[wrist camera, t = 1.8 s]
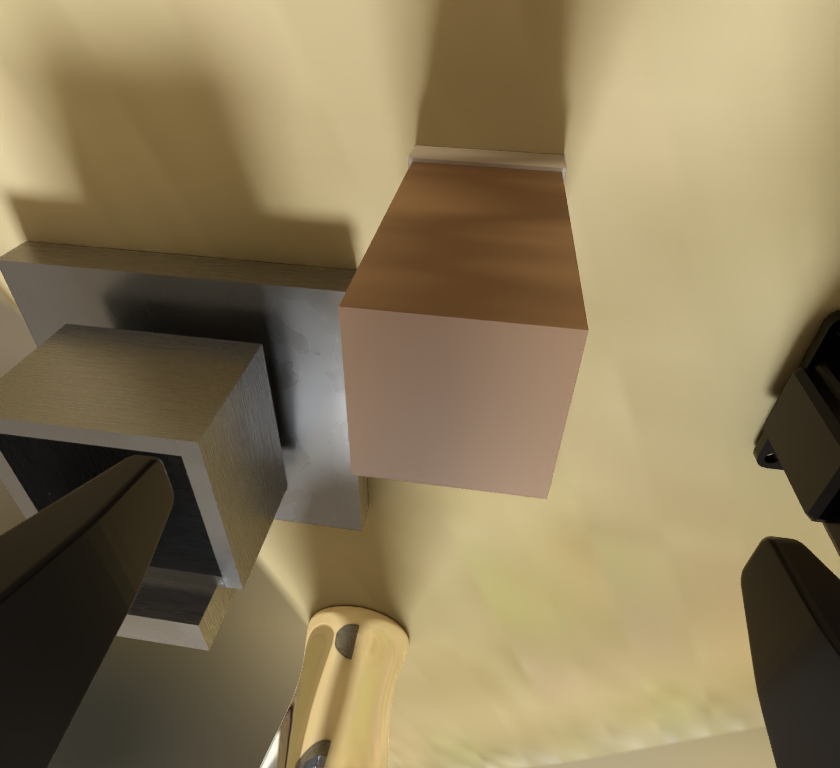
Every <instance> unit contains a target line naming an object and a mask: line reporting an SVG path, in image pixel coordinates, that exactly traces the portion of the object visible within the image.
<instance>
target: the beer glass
mask: <svg viewBox="0 0 840 768" xmlns="http://www.w3.org/2000/svg"><path fill="white" fill-rule="evenodd" d="M408 647H409V640H408V636H407V634H406V632H405V631H404V630H403V628H402V627H401V626H400V625H399V624H398V623H396V622H395V621H394V620H392V619H390V618H389V617H387V616H385V615H383V614H381V613H378V612H376V611H373V610H369V609H365V608H361V607H354V606H334V607H329V608H326V609H323V610H321V611H319V612H317V613H316V614H315V615H314V616H313V617H312V618H311V620H310V622H309V626H308V631H307V638H306V646H305V655H304V661H303V667H302V671H301V675H300V679H299V682H298V685H297V688H296V691H295V693H294V696H293V699H292V701H291V703H290V706H289V708H288V710H287V712H286V714H285V717H284V719H283V721H282V723H281V725H280V727H279V729H278V731H277V733H276V735H275V737H274V739H273V741H272V744H271V745H270V747H269V749H268V752H267V754H266V756H265V758H264V760H263V762H262V764H261V766H260V768H388V745H389V721H390V713H391V704H392V700H393V695H394V690H395V687H396V684H397V680H398V677H399V674H400V672H401V669H402V666H403V663H404V660H405V658H406V654H407V651H408Z"/></svg>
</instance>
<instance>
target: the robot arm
mask: <svg viewBox="0 0 840 768" xmlns="http://www.w3.org/2000/svg"><path fill="white" fill-rule="evenodd" d="M839 327H840V310H839V311H836V312H834V313H832V314H831V315H829V316H828V317H827V318H826V319H825V321H824V322H823V324H822V325H821V327H820V329H819V331H818V333H817V335H816V336H815V338H814V340H813V342H812V344H811V346H810V347H809V349H808V351H807V353H806V355H805V357H804V358H803V360H802V362H801V364H800V366H799V368H798V369H797V370H796V371H795V372H793V373H792V374H791V376H790V378H789V380H788V382H787V384H786V386H785V387H784V389H783V391H782V393H781V395H780V397H779V399H778V400H777V402H776V404H775V406H774V408H773V410H772V411H771V413H770V415H769V417H768V419H767V421H766V423H765V424H764V427H763V428H764V432H763V434H762V436H761V437H760V439H759V441H758V443H757V445H756V447H755V448H754V452H753V454H754V456H755V458H756V461H757V463H758V464H759V465H760V466H761V467H765V468H771V469H780V470H784V471H785V473H786V475H787V477H788V480H789V482H790V484H791V486H792V488H793V490H794V492H795V494H796V496H797V498H798V500H799V502H800V504H801V506H802V508H803V510H804V512H805V513H806V515H807V516H808V517H809V518H810V520H811V521H815V522H822V523H823V525H824V527H825V529H826V531H827V533H828V535H829V537H830V539H831V541H832V542H833V544H834V546H835V548H836V550H837V552H838V554H839V556H840V330H837V329H838V328H839ZM772 453H774V454H772ZM769 454H772V455H769ZM767 455H768V456H767ZM173 501H174V493H173V489H172V486H171V483H170V481H169V478H168V475H167V473H166V470H165V467H164V465H163V462H162V461H161V460H160V459H159V458H157V457H152V456H144V455H132V456H130V457H128V458H126V459H124V460H123V461H121V462H119V463H118V464H116V465H114V466H113V467H111V468H109V469H108V470H106V471H105V472H103V473H101V474H100V475H98V476H96V477H95V478H93V479H92V480H90V481H88V482H87V483H85V484H83V485H82V486H80V487H78V488H77V489H75V490H74V491H72V492H70V493H69V494H67V495H65V496H64V497H62V498H61V499H59V500H57V501H56V502H54V503H52V504H51V505H49V506H47V507H46V508H44V509H43V510H41V511H39V512H38V513H36V514H34V515H33V516H31V517H30V518H28V519H26V520H25V521H23V522H21V523H20V524H18V525H17V526H15V527H13V528H12V529H10V530H8V531H7V532H5V533H3V534H2V535H0V768H47V767H48V765H49V763H50V762H51V760H52V758H53V756H54V754H55V752H56V750H57V748H58V746H59V744H60V742H61V740H62V738H63V737H64V734H65V733H66V731H67V729H68V727H69V725H70V723H71V721H72V719H73V717H74V715H75V713H76V711H77V710H78V708H79V706H80V704H81V702H82V700H83V698H84V696H85V694H86V692H87V690H88V688H89V686H90V685H91V683H92V681H93V679H94V677H95V675H96V673H97V671H98V669H99V667H100V666H101V664H102V662H103V660H104V658H105V656H106V654H107V652H108V650H109V648H110V646H111V644H112V642H113V640H114V639H115V637H116V635H117V633H118V631H119V629H120V627H121V625H122V623H123V621H124V619H125V617H126V616H127V614H128V612H129V610H130V608H131V606H132V604H133V602H134V600H135V598H136V596H137V593H138V591H139V589H140V586H141V584H142V582H143V579H144V577H145V574H146V572H147V569H148V567H149V564H150V562H151V559H152V557H153V554H154V551H155V549H156V546H157V544H158V541H159V539H160V536H161V534H162V531H163V529H164V526H165V524H166V521H167V519H168V516H169V513H170V511H171V508H172V505H173ZM741 588H742V595H743V602H744V609H745V615H746V622H747V629H748V636H749V643H750V649H751V656H752V663H753V670H754V676H755V682H756V687H757V693H758V697H759V701H760V705H761V710H762V713H763V717H764V721H765V725H766V729H767V732H768V736H769V740H770V744H771V748H772V752H773V755H774V759H775V763H776V767H777V768H840V579H839V578H838V577H837V576H836V575H835V574H834V573H832V572H831V571H830V570H829V569H828V568H827V567H826V566H825V565H824V564H823V563H822V562H821V561H820V560H819V559H818V558H817V557H816V556H815V555H814V554H813V553H812V552H811V551H810V550H809V549H808V548H807V547H806V546H805V545H803V544H802V543H801V542H799V541H797V540H794V539H788V538H781V537H773V536H768V537H766V538H764V539H762V540H761V542H760V543H759V545H758V546H757V548H756V549H755V551H754V553H753V554H752V556H751V557H750V559H749V560H748V562H747V563H746V565H745V567H744V569H743V571H742V575H741Z"/></svg>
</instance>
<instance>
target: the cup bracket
mask: <svg viewBox="0 0 840 768" xmlns="http://www.w3.org/2000/svg"><path fill="white" fill-rule="evenodd" d="M0 270H1V272H2V274H3V276H4V279H5V281H6V283H7V285H8V287H9V289H10V291H11V293H12V295H13V297H14V299H15V301H16V303H17V306H18V308H19V310H20V312H21V314H22V316H23V318H24V320H25V322H26V324H27V326H28V328H29V330H30V333H31V335H32V337H33V339H34V341H35V343H36V345H37V347H38V348H36V349H35V350H34V351H33V352H32V353H30V354H29V355H28V356H27V357H26V358H24V359H23V360H22V361H21V362H20V363H18V364H17V365H16V366H15V367H14V368H12V369H11V370H10V371H9V372H8V373H6V374H5V375H4V376H3V377H2V378H0V479H1V480H2V481H3V483H4V485H5V486H6V488H7V490H8V491H9V492H10V494H11V496H12V497H13V499H14V500H15V502H16V503H17V505H18V507H19V508H20V510H21V511H22V513H23V514H24V516H25V517H26V519H28V518H30V517H31V516H33V515H34V514H36V513H38V512H39V511H41V510H43V509H44V508H46V507H47V506H49V505H51V504H52V503H54V502H56V501H57V500H59V499H61V498H62V497H64V496H65V495H67V494H69V493H70V492H72V491H74V490H75V489H77V488H78V487H80V486H82V485H83V484H85V483H87V482H88V481H90V480H92V479H93V478H95V477H96V476H98V475H100V474H101V473H103V472H105V471H106V470H108V469H109V468H111V467H113V466H114V465H116V464H118V463H119V462H121V461H123V460H124V459H126V458H128V457H130V456H132V455H144V456H152V457H157V458H159V459H160V460H161V461H162V462H163V465H164V467H165V470H166V473H167V475H168V478H169V481H170V483H171V486H172V489H173V493H174V501H173V505H172V508H171V511H170V513H169V516H168V519H167V521H166V524H165V526H164V529H163V531H162V534H161V536H160V539H159V541H158V544H157V546H156V549H155V551H154V554H153V557H152V559H151V562H150V564H149V567H148V569H147V572H146V574H145V577H144V579H143V582H142V584H141V586H140V589H139V591H138V593H137V596H136V598H135V600H134V602H133V604H132V606H131V608H130V610H129V612H128V614H127V616H126V617H125V619H124V621H123V623H122V625H121V627H120V629H119V631H118V633H117V635H116V636H122V637H127V638H134V639H140V640H146V641H152V642H159V643H166V644H172V645H177V646H184V647H190V648H196V649H203V650H209V649H210V647H211V645H212V643H213V641H214V638H215V636H216V634H217V631H218V629H219V627H220V625H221V622H222V620H223V618H224V616H225V614H226V611H227V609H228V607H229V605H230V602H231V600H232V598H233V595H234V593H235V591H236V589H241V590H243V589H244V587H245V584H246V582H247V580H248V577H249V575H250V573H251V570H252V568H253V566H254V563H255V561H256V559H257V557H258V554H259V552H260V550H261V547H262V545H263V543H264V540H265V538H266V536H267V533H268V531H269V529H270V527H271V524H272V522H273V520H274V519H277V520H284V521H292V522H299V523H307V524H314V525H322V526H329V527H336V528H344V529H351V530H359V531H362V528H363V524H364V521H365V517H366V513H367V510H368V506H369V498H368V478H367V477H366V476H358V475H351V462H350V449H349V436H348V423H347V410H346V397H345V384H344V371H343V358H342V345H341V332H340V319H339V305H340V303H341V301H342V299H343V297H344V295H345V293H346V291H347V289H348V287H349V285H350V283H351V281H352V279H353V277H354V275H355V273H356V271H357V270H347V269H336V268H324V267H313V266H302V265H290V264H279V263H268V262H256V261H245V260H234V259H222V258H211V257H199V256H188V255H177V254H165V253H154V252H143V251H131V250H120V249H108V248H97V247H86V246H74V245H63V244H52V243H40V242H29V241H26V242H24V243H23V244H21V245H19V246H18V247H16V248H14V249H13V250H11V251H9V252H8V253H6V254H4V255H3V256H1V257H0Z"/></svg>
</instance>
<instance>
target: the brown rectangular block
mask: <svg viewBox="0 0 840 768" xmlns="http://www.w3.org/2000/svg"><path fill="white" fill-rule="evenodd" d="M565 174H566V163H565V158H564V155H558V154H543V153H527V152H512V151H497V150H481V149H466V148H451V147H435V146H420V145H415V147H414V149H413V150H412V152H411V154H410V156H409V169H408V171H407V173H406V175H405V177H404V179H403V181H402V183H401V185H400V187H399V189H398V191H397V193H396V195H395V197H394V198H393V200H392V202H391V204H390V206H389V208H388V210H387V212H386V214H385V216H384V218H383V220H382V222H381V224H380V226H379V228H378V230H377V232H376V234H375V236H374V238H373V240H372V242H371V244H370V246H369V248H368V250H367V252H366V254H365V255H364V257H363V259H362V261H361V263H360V265H359V267H358V269H357V271H356V273H355V275H354V277H353V279H352V281H351V283H350V285H349V287H348V289H347V291H346V293H345V295H344V297H343V299H342V301H341V303H340V305H339V319H340V332H341V345H342V358H343V371H344V384H345V397H346V410H347V423H348V436H349V449H350V462H351V475H358V476H366V477H374V478H382V479H390V480H398V481H406V482H414V483H422V484H430V485H438V486H446V487H454V488H462V489H470V490H478V491H486V492H494V493H502V494H510V495H518V496H526V497H534V498H542V499H547V497H548V493H549V489H550V485H551V481H552V476H553V472H554V468H555V464H556V460H557V456H558V452H559V448H560V444H561V440H562V436H563V432H564V428H565V423H566V419H567V415H568V411H569V407H570V403H571V399H572V395H573V391H574V387H575V383H576V379H577V375H578V371H579V366H580V362H581V358H582V354H583V350H584V346H585V342H586V338H587V334H588V325H587V319H586V313H585V307H584V301H583V295H582V289H581V283H580V277H579V271H578V265H577V259H576V253H575V247H574V241H573V235H572V229H571V223H570V217H569V211H568V205H567V199H566V193H565V187H564V180H565Z"/></svg>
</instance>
